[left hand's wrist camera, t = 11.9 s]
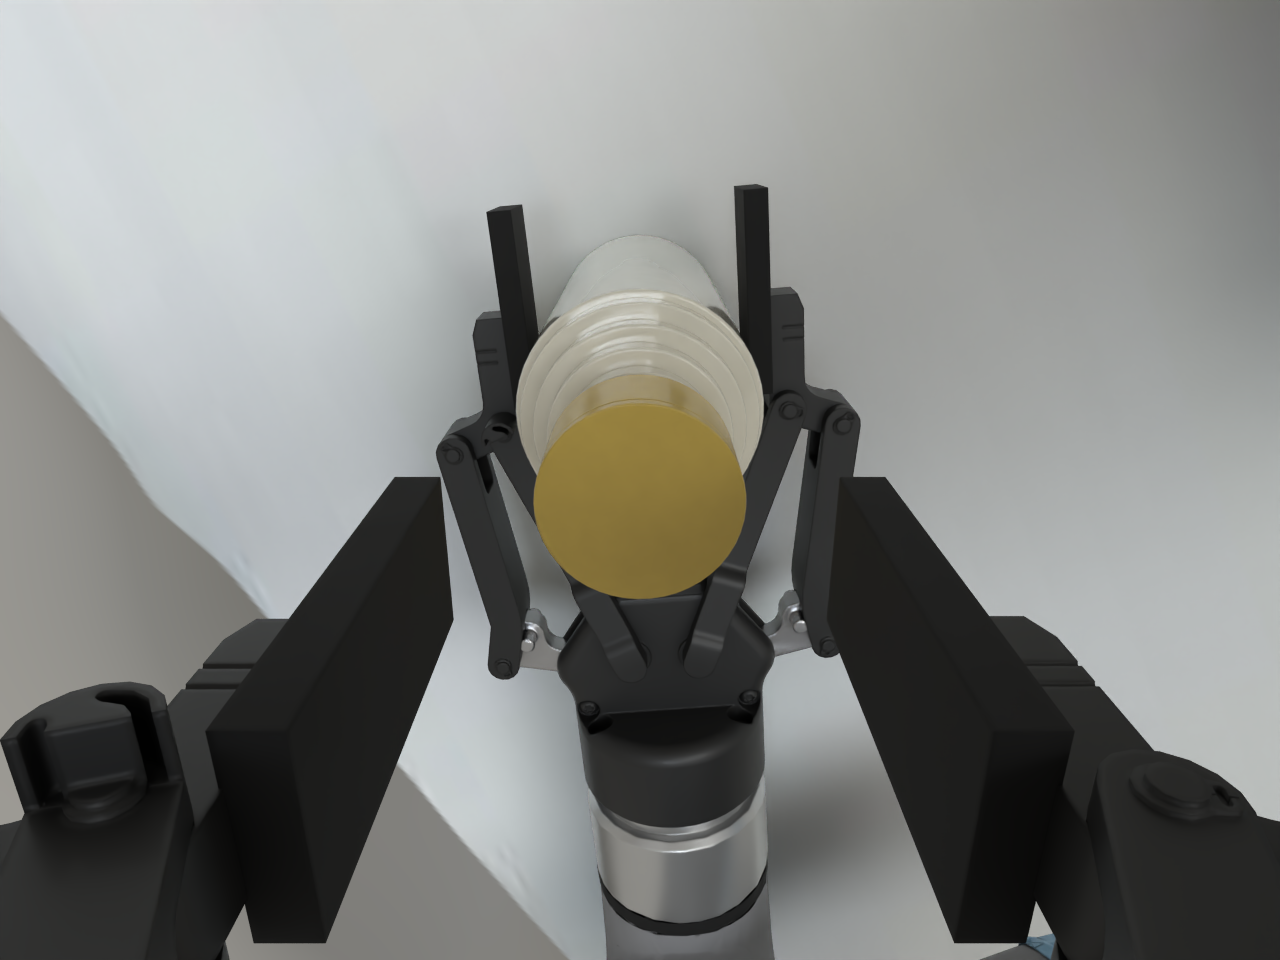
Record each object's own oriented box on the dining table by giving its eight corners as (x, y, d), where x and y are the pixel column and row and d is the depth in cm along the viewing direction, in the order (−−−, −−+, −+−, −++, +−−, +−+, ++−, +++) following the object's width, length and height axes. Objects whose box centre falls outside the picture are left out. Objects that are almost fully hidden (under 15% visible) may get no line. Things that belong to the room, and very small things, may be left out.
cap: (654, 583, 19) (655, 635, 17) (507, 480, 18) (490, 521, 16) (774, 452, 18) (790, 491, 16) (624, 333, 17) (622, 358, 15)
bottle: (651, 420, 36) (663, 690, 18) (530, 327, 35) (413, 521, 17) (749, 303, 34) (871, 474, 16) (627, 200, 33) (611, 263, 15)
